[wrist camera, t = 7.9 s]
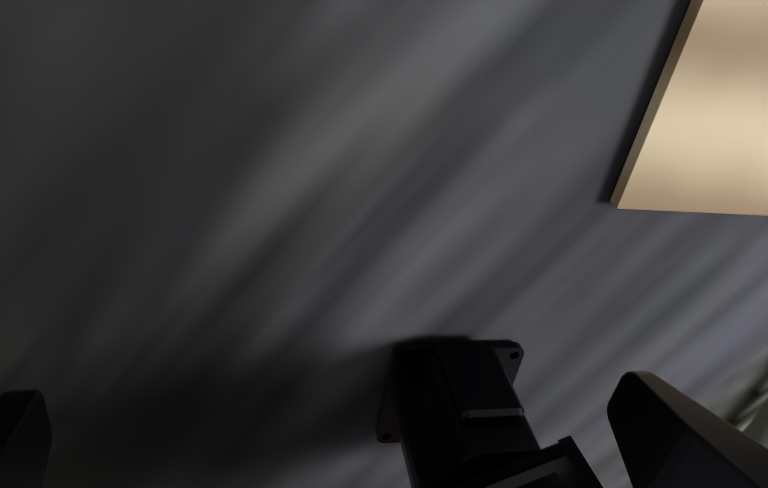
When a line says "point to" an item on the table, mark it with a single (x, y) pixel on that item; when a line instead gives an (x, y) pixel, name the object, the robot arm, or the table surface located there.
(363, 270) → the table surface
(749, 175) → the mat
